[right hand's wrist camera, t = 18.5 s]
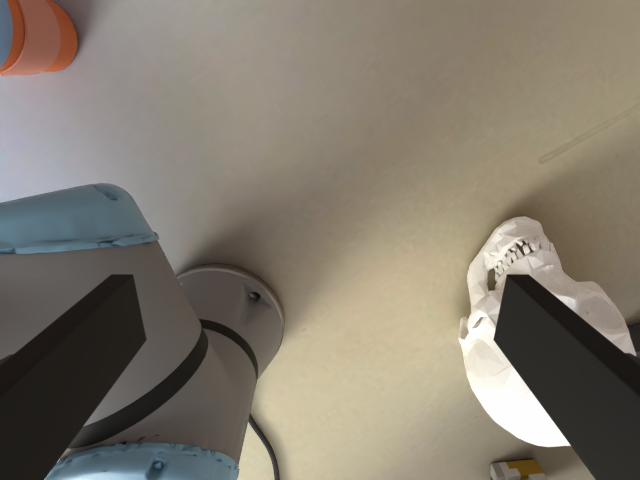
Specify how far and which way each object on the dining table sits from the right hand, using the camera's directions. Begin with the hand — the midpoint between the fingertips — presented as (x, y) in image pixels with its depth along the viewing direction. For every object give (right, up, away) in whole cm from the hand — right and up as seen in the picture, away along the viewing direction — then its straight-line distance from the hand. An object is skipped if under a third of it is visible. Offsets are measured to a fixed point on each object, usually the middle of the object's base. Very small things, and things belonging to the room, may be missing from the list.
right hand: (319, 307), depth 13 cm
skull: (+22, -5, +30) cm, 38 cm away
